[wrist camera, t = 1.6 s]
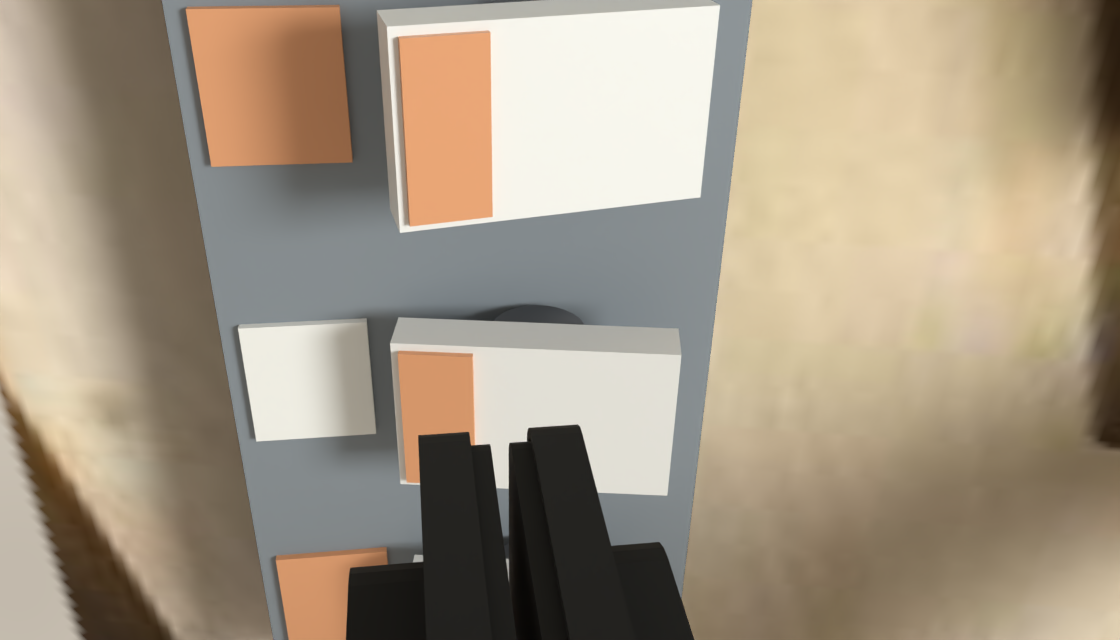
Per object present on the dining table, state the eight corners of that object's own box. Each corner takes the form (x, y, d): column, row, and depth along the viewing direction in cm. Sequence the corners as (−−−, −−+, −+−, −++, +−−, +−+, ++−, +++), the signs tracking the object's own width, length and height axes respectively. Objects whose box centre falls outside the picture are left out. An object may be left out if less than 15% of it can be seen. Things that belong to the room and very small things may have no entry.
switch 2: (675, 304, 27) (681, 359, 25) (663, 438, 29) (667, 499, 27) (406, 293, 27) (389, 346, 25) (414, 428, 29) (399, 487, 27)
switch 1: (674, -23, 24) (723, 7, 22) (660, 158, 26) (702, 200, 24) (367, -6, 22) (388, 29, 20) (381, 187, 24) (401, 236, 22)
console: (718, -153, 26) (770, -126, 22) (649, 576, 39) (675, 666, 35) (174, -157, 24) (136, -128, 21) (293, 606, 37) (283, 703, 34)
